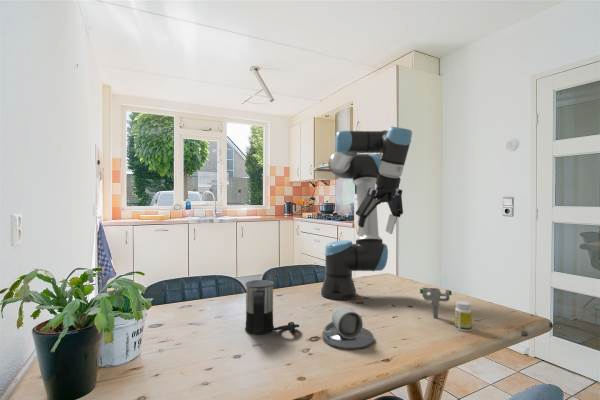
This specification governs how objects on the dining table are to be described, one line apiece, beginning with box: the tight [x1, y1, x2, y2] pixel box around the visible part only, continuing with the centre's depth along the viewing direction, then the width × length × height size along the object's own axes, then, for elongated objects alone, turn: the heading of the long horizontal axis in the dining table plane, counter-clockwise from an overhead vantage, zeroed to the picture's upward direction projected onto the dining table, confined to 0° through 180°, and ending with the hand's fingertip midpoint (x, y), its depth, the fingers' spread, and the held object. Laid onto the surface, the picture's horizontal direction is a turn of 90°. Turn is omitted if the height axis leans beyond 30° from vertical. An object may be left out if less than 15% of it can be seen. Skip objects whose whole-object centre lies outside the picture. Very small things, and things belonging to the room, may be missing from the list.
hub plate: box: [321, 327, 374, 351], centre depth 95 cm, size 15×15×1 cm
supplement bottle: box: [454, 300, 473, 332], centre depth 103 cm, size 5×5×8 cm
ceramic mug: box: [323, 306, 364, 339], centre depth 95 cm, size 11×8×8 cm
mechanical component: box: [419, 287, 453, 319], centre depth 113 cm, size 3×10×10 cm, turn 78°
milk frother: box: [244, 279, 300, 335], centre depth 101 cm, size 14×16×15 cm
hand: (375, 233), depth 112 cm, fingers open, 13 cm apart
